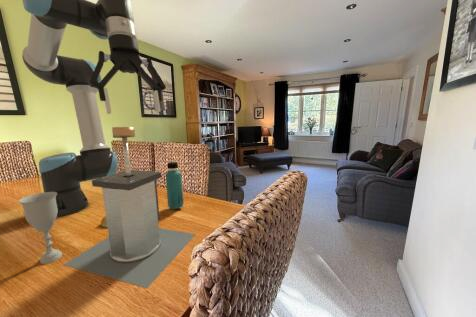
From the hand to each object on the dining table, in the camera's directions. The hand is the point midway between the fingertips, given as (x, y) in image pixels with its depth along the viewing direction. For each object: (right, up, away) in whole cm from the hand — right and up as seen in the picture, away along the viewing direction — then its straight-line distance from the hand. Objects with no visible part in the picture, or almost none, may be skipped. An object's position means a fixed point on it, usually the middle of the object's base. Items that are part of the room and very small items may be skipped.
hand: (135, 112), depth 61 cm
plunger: (+2, -28, -5) cm, 29 cm away
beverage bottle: (+5, -35, +24) cm, 43 cm away
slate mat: (+2, -40, -3) cm, 40 cm away
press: (+2, -39, -1) cm, 40 cm away
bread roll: (-14, -38, +14) cm, 43 cm away
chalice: (-19, -41, -6) cm, 46 cm away
